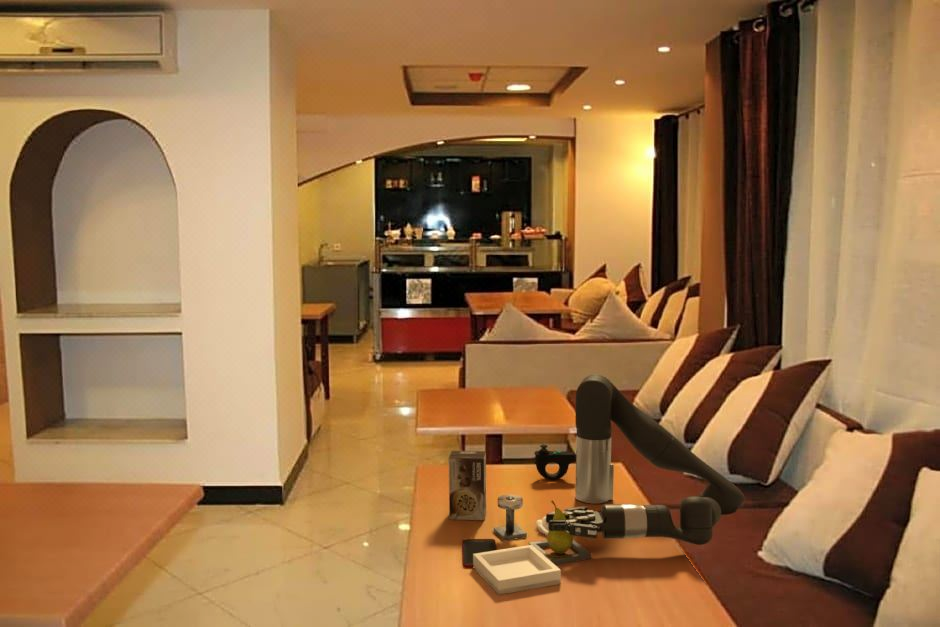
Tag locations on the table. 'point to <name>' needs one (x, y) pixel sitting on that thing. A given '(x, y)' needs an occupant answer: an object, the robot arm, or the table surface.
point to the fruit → (559, 535)
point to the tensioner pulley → (510, 517)
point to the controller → (553, 456)
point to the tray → (516, 569)
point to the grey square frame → (566, 558)
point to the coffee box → (467, 485)
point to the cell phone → (475, 549)
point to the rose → (543, 525)
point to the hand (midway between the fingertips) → (547, 521)
